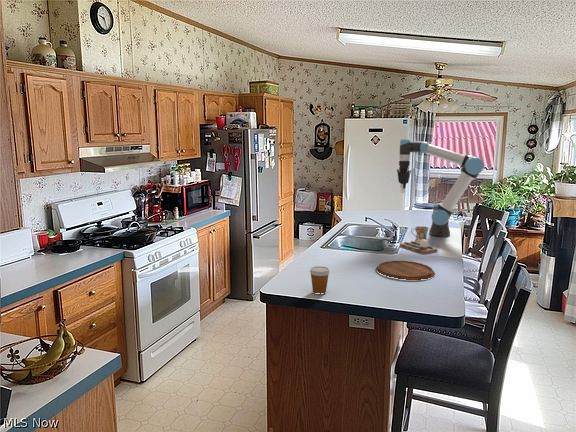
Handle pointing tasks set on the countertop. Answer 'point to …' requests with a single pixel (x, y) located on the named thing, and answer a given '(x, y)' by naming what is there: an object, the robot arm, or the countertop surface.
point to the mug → (420, 233)
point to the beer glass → (319, 278)
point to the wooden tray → (418, 247)
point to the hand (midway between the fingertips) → (402, 192)
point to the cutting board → (405, 270)
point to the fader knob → (424, 243)
